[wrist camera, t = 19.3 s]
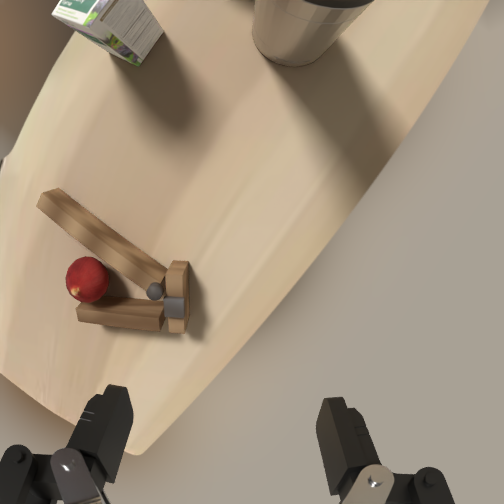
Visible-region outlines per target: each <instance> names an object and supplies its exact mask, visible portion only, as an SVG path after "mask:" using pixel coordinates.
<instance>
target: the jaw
mask: <svg viewBox="0 0 504 504" xmlns="http://www.w3.org/2000/svg"><path fill="white" fill-rule="evenodd" d="M36 207H38V208H39V209H40V210H41V211H42V212H43V213H45V214H46V215H47V216H48V217H49V218H51V219H52V220H53V221H54V222H55V223H57V224H58V225H59V226H60V227H61V228H63V229H64V230H65V231H66V232H68V233H69V234H70V235H71V236H73V237H74V238H75V239H76V240H78V241H79V242H80V243H82V244H83V245H84V246H85V247H87V248H88V249H89V250H91V251H92V252H93V253H95V254H96V255H97V256H98V257H100V258H101V259H102V260H104V261H105V262H106V263H108V264H109V265H111V266H112V267H113V268H115V269H116V270H117V271H119V272H120V273H122V274H123V275H124V276H126V277H127V278H129V279H130V280H131V281H133V282H134V283H136V284H137V285H138V286H140V287H141V288H143V289H144V290H146V291H147V292H146V294H147V296H148V298H149V299H151V300H153V301H157V300H159V299H160V298H161V296H162V294H163V291H164V289H163V286H162V285H161V284H160V283H161V281H162V280H163V278H164V276H165V274H166V272H167V270H168V269H167V268H165V267H164V266H162V265H161V264H160V263H158V262H157V261H155V260H154V259H152V258H151V257H150V256H148V255H147V254H145V253H144V252H143V251H141V250H140V249H138V248H137V247H136V246H134V245H133V244H131V243H130V242H129V241H127V240H126V239H125V238H123V237H122V236H121V235H119V234H118V233H117V232H115V231H114V230H112V229H111V228H110V227H108V226H107V225H106V224H104V223H103V222H102V221H100V220H99V219H98V218H97V217H95V216H94V215H93V214H91V213H90V212H89V211H87V210H86V209H85V208H84V207H82V206H81V205H80V204H78V203H77V202H76V201H75V200H73V199H72V198H71V197H70V196H68V195H67V194H66V193H64V192H63V191H62V190H61V189H59V188H57V189H53V190H50V191H47V192H44V193H42V194H41V196H40V198H39V201H38V203H37V206H36Z"/></svg>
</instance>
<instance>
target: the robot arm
mask: <svg viewBox="0 0 504 504" xmlns="http://www.w3.org/2000/svg"><path fill="white" fill-rule="evenodd" d="M373 1H374V0H255V7H254V17H253V29H252V35H253V40H254V42H255V45H256V47H257V48H258V49H259V51H260V52H261V53H262V54H263V55H264V56H265V57H267V58H268V59H270V60H272V61H273V62H276V63H278V64H281V65H286V66H302V65H307V64H309V63H312V62H314V61H315V60H317V59H318V58H319V57H320V56H321V55H322V54H323V53H324V52H325V51H326V50H327V49H328V48H329V47H330V46H331V45H332V44H333V42H334V41H335V40H336V39H337V38H338V37H339V36H340V35H341V34H342V33H343V32H344V31H345V30H346V29H347V28H348V27H349V26H350V24H351V23H352V22H353V21H354V20H355V19H356V18H357V17H358V16H359V15H360V14H361V13H362V12H363V11H364V10H365V9H366V8H367V7H368V6H369V5H370V4H371V3H372V2H373ZM132 424H133V409H132V405H131V401H130V398H129V394H128V390H127V388H126V387H122V386H116V385H111V384H109V385H108V386H107V387H106V389H105V391H104V393H103V395H100V394H96V395H95V396H94V397H92V398H91V399H90V400H89V401H88V403H87V405H86V407H85V409H84V412H83V413H82V415H81V417H80V419H79V421H78V423H77V425H76V427H75V429H74V431H73V434H72V436H71V438H70V440H69V442H68V444H67V446H66V447H65V448H62V449H59V450H57V451H56V452H55V453H54V454H53V455H42V454H32V453H31V452H30V450H29V449H28V448H27V447H25V446H23V445H13V446H10V447H9V448H8V449H7V450H6V451H5V453H4V455H3V457H2V459H1V461H0V504H56V503H57V500H63V502H64V504H111V503H110V501H109V499H108V497H107V495H106V493H105V491H104V489H103V488H104V485H105V482H109V483H114V482H115V478H116V475H117V472H118V468H119V465H120V462H121V459H122V455H123V452H124V449H125V446H126V443H127V439H128V436H129V433H130V430H131V427H132ZM316 433H317V438H318V442H319V447H320V451H321V455H322V459H323V463H324V468H325V472H326V477H327V481H328V486H329V490H330V494H331V495H338V494H339V496H340V500H341V501H340V502H339V504H455V503H454V500H453V498H452V495H451V493H450V490H449V487H448V485H447V482H446V480H445V478H444V475H443V474H442V472H441V471H439V470H438V469H436V468H432V467H425V468H422V469H420V470H419V471H418V472H417V473H416V474H414V475H413V474H396V473H392V472H391V471H390V470H389V469H388V468H387V467H385V466H382V464H381V463H380V460H379V458H378V455H377V452H376V450H375V447H374V444H373V442H372V439H371V437H370V435H369V432H368V429H367V427H366V424H365V421H364V419H363V416H362V415H361V414H360V413H359V412H358V411H357V410H356V409H355V408H347V406H346V403H345V400H344V398H343V397H333V398H324V400H323V403H322V406H321V409H320V412H319V415H318V419H317V422H316Z"/></svg>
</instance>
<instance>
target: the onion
mask: <svg viewBox="0 0 504 504" xmlns="http://www.w3.org/2000/svg"><path fill="white" fill-rule="evenodd" d="M108 285H109V276H108V272H107V270H106V268H105V266H104V265H103V264H102V263H101V262H100V261H98V260H97V259H95V258H93V257H86V256H85V257H82V258H79V259H77V260H75V261H74V262H73V263H72V264H71V266H70V267H69V268H68V271H67V275H66V286H67V289H68V291H69V293H70V295H72V296H73V297H74V298H75V299H77V300H79V301H81V302H86V303H91V302H93V301H96V300H98V299H100V298H101V297H102V296H103V295H104V294H105V293H106V291H107V288H108Z"/></svg>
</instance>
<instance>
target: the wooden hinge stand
mask: <svg viewBox="0 0 504 504" xmlns="http://www.w3.org/2000/svg"><path fill="white" fill-rule="evenodd" d="M165 278H166V296H165V297H164V299H163V301H153V300H144V299H133V298H123V297H113V296H102V297H101V298H100V299H98V300H96V301H93V302H91V303H86V302H81V303H80V304H79V306H78V307H77V308H76V312H77V317H78V321H80V322H86V323H93V324H100V325H107V326H115V327H123V328H131V329H140V330H149V331H159V332H160V330H161V328H162V325H163V323H164V320H165V318H166V317H168V326H169V332H170V333H182V334H185V330H186V327H187V323H188V320H189V316H190V312H189V261H174V260H173V262H172V263H171V265H170V267H169V269H168V270H167V272H166V274H165Z"/></svg>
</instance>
